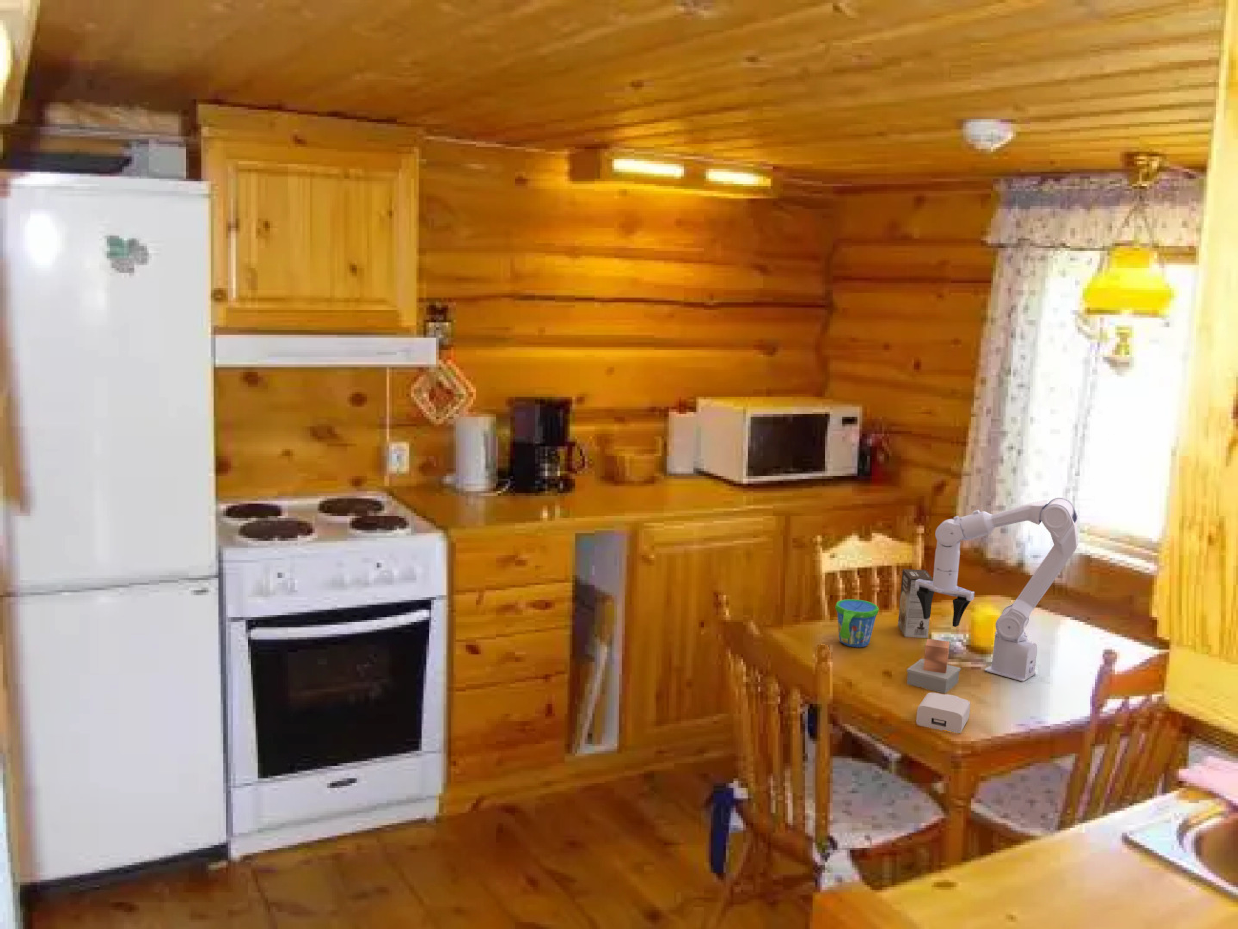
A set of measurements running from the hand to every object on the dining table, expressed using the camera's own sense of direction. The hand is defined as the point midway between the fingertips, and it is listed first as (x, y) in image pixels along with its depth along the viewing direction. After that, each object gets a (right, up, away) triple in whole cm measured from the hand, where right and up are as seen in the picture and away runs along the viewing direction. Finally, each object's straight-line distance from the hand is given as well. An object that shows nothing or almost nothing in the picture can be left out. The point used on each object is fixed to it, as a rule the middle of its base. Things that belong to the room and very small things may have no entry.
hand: (941, 622), depth 273 cm
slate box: (-6, -13, -15) cm, 20 cm away
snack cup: (-19, -7, +10) cm, 23 cm away
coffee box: (-1, -6, +21) cm, 22 cm away
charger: (-9, -16, -35) cm, 39 cm away
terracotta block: (-6, -9, -15) cm, 18 cm away
